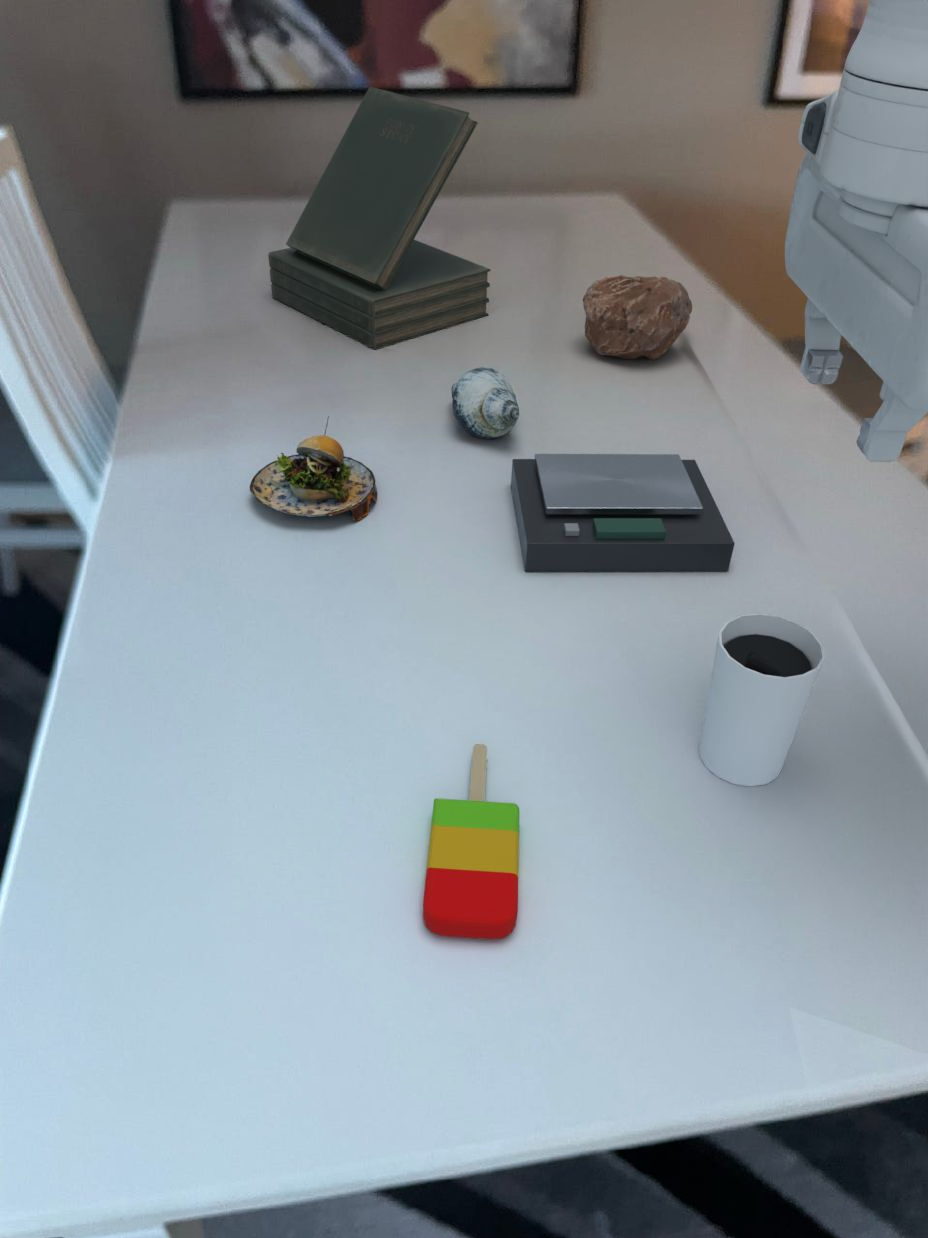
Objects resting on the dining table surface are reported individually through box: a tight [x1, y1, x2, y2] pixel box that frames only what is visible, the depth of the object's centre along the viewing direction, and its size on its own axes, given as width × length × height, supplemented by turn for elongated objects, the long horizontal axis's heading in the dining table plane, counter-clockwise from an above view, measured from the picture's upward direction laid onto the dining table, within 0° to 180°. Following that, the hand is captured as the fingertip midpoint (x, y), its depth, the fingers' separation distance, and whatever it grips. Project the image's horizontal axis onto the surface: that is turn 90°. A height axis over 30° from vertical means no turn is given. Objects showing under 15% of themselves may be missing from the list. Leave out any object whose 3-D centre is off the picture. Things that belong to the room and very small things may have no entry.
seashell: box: [451, 366, 520, 440], centre depth 107 cm, size 6×8×12 cm
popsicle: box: [422, 743, 520, 940], centre depth 63 cm, size 6×15×2 cm, turn 177°
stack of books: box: [267, 86, 491, 350], centre depth 129 cm, size 23×20×25 cm
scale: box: [510, 458, 736, 573], centre depth 92 cm, size 18×15×4 cm
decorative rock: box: [582, 274, 693, 360], centre depth 123 cm, size 13×11×10 cm
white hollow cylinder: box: [698, 612, 826, 788], centre depth 67 cm, size 7×7×10 cm
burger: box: [249, 415, 378, 523], centre depth 93 cm, size 12×12×8 cm
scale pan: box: [533, 453, 703, 515], centre depth 92 cm, size 14×10×1 cm
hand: (844, 414), depth 56 cm, fingers open, 8 cm apart
